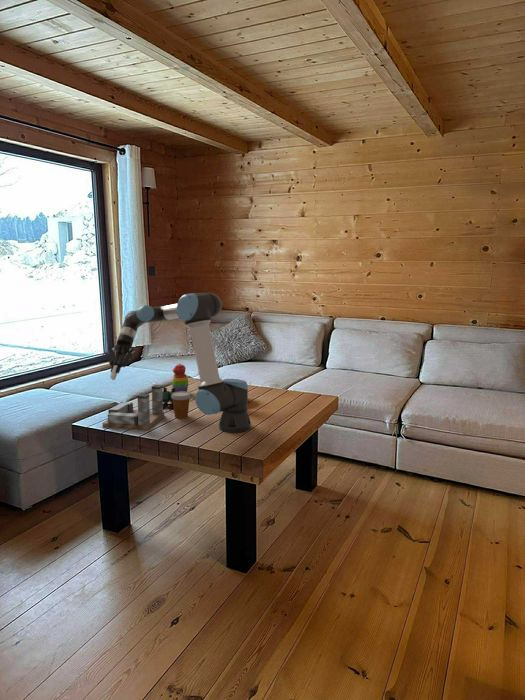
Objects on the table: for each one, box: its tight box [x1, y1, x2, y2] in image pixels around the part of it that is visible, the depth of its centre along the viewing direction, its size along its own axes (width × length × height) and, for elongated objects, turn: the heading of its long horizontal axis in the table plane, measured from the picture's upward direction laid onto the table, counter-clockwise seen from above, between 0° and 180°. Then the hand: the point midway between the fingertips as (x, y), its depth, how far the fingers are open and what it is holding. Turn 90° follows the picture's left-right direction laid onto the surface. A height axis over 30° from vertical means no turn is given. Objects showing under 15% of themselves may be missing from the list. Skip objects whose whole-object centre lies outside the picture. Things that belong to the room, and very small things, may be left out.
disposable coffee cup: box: [171, 391, 191, 420], centre depth 242 cm, size 10×10×12 cm
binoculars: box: [162, 386, 176, 410], centre depth 256 cm, size 9×11×10 cm
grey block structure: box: [101, 384, 165, 431], centre depth 233 cm, size 23×22×16 cm
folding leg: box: [107, 402, 130, 414], centre depth 237 cm, size 4×4×14 cm
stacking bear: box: [171, 363, 189, 392], centre depth 282 cm, size 11×10×18 cm
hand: (112, 378), depth 228 cm, fingers closed
